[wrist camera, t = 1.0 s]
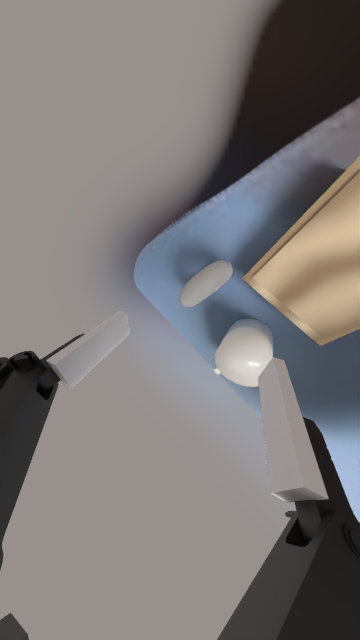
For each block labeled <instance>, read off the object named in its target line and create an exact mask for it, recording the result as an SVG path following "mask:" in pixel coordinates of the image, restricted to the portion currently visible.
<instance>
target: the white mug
mask: <svg viewBox="0 0 360 640" xmlns="http://www.w3.org/2000/svg"><path fill="white" fill-rule="evenodd" d="M272 358H273V335H272V332H271V330H270V329H269V327H268V326H267V325H265V324H264V323H262V322H261V321H258V320H255V319H241V320H238V321H236V322H235V323H233V324H232V326H231V327H230V329H229V330H228V332H227V334H226V335H225V337H224V339H223V341H222V342H221V344H220V346H219V347H218V349H217V351H216V353H215V363H216V366H215V368H214V371H215V373H216V374H217V375H219V374H221V373H222V374H223V375H224V376H225V377H226V378H227V379H229V380H230V381H232V382H234V383H236V384H238V385H241V386H246V387H258V386H259V384H258V377H259V376H260V374H261V373H262V371H263V370H264V369H265V367H266V366H267V364H268V363H269V362H270V360H271V359H272Z"/></svg>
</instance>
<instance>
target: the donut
mask: <svg viewBox="0 0 360 640" xmlns="http://www.w3.org/2000/svg"><path fill="white" fill-rule="evenodd" d="M232 275H233V267H232V265H231V264H230V263H229V262H228V261H225V260H219V261H216V262H213V263H211V264H209V265H208V266H206V267H205V268H203V269H202V270H201V271H199V272H198V273H197V274H196V275H194V276H193V277H192V278H191V279H190V280H189V281H188V282H187V283H186V284H185V285H184V287H183V288H182V290H181V292H180V296H179V299H180V302H181V304H182V305H183V306H185V307H193V306H195V305H197V304H198V303H200V302H201V301H203V300H204V299H206V298H207V297H208V296H210V295H211V294H213V293H214V292H215V291H216V290H218V289H219V288H220V287H221V286H223V285H224V284H225V283H226V282H227V281H228V280H229V279H230V278H231V276H232Z"/></svg>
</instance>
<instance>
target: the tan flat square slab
mask: <svg viewBox="0 0 360 640" xmlns="http://www.w3.org/2000/svg"><path fill="white" fill-rule="evenodd" d="M242 279H243V280H244V281H245V282H247V283H248V284H249V285H250V286H251V287H252V288H254V289H255V290H256V291H257V292H258V293H259V294H261V295H262V296H263V297H264V298H265V299H266V300H267V301H269V302H270V303H271V304H272V305H273V306H274V307H276V308H277V309H278V310H279V311H280V312H281V313H283V314H284V315H285V316H286V317H287V318H288V319H289V320H291V321H292V322H293V323H294V324H295V325H296V326H298V327H299V328H300V329H301V330H302V331H303V332H304V333H306V334H307V335H308V336H309V337H310V338H311V339H313V340H314V341H315V342H316V343H317V344H318V345H320V346H322V345H324V344H326V343H329V342H331V341H333V340H336V339H338V338H340V337H342V336H345V335H347V334H349V333H352V332H354V331H356V330H359V329H360V156H359V157H358V158H357V159H356V160H355V162H354V163H353V164H352V165H351V166H350V167H349V168H348V169H347V170H346V171H345V172H344V173H343V174H342V175H341V176H340V177H339V178H338V179H337V180H336V181H335V182H334V183H333V184H332V185H331V186H330V187H329V189H328V190H327V191H326V192H325V193H324V194H323V195H322V196H321V197H320V198H319V199H318V200H317V201H316V202H315V203H314V204H313V205H312V206H311V207H310V208H309V209H308V210H307V211H306V212H305V213H304V214H303V216H302V217H301V218H300V219H299V220H298V221H297V222H296V223H295V224H294V225H293V226H292V227H291V228H290V229H289V230H288V231H287V232H286V233H285V234H284V235H283V236H282V237H281V238H280V239H279V240H278V241H277V243H276V244H275V245H274V246H273V247H272V248H271V249H270V250H269V251H268V252H267V253H266V254H265V255H264V256H263V257H262V258H261V259H260V260H259V261H258V262H257V263H256V264H255V265H254V266H253V267H252V268H251V270H250V271H249V272H248V273H247V274H246V275H245V276H244V277H243V278H242Z"/></svg>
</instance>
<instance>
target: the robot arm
mask: <svg viewBox="0 0 360 640" xmlns="http://www.w3.org/2000/svg"><path fill="white" fill-rule="evenodd" d="M129 334H130V330H129V324H128V318H127V313H126V312H123V311H119V312H117V313H116V314H114V315H113V316H111V317H110V318H108V319H107V320H105V321H104V322H102V323H101V324H99V325H98V326H97V327H95V328H93V329H92V330H90V331H89V332H87V333H86V334H81V335H79V336H77V337H75V338H73V339H72V340H70V342H67V343H66V344H65V345H62V346H61V347H59V348H58V349H56V350H55V351H53V352H52V353H50V354H49V355H47V356H46V357H44V358H42V359H39V358H38V357H37V356H36V354H35V353H34V352H32V351H24V352H21V353H18V354H16V355H14V356H12V357H11V358H9V359H8V358H5V357H3V358H0V569H1V565H2V561H3V551H2V541H3V537H4V534H5V531H6V529H7V526H8V523H9V520H10V518H11V515H12V512H13V509H14V507H15V504H16V501H17V498H18V496H19V493H20V490H21V487H22V485H23V482H24V479H25V476H26V473H27V471H28V468H29V465H30V463H31V460H32V457H33V454H34V451H35V448H36V446H37V443H38V440H39V438H40V435H41V432H42V429H43V427H44V424H45V421H46V418H47V415H48V413H49V410H50V407H51V405H52V401H53V399H54V396H55V393H56V391H57V388H58V382H59V381H60V380H61V381H62V382H63V383H64V385H66V386H68V387H70V388H73V387H74V386H75V385H76V384H77V383H78V382H79V381H80V380H81V379H82V378H83V377H84V376H86V374H88V373H89V372H90V371H91V370H92V369H93V368H94V367H95V366H96V365H97V364H98V363H99V362H100V361H101V360H103V359H104V358H105V357H106V356H107V355H108V354H109V353H110V352H111V351H112V350H113V349H114V348H115V347H116V346H118V345H119V344H120V343H121V342H122V341H123V340H124V339H125V338H126V337H127V336H128V335H129ZM258 384H259V394H260V403H261V413H262V422H263V432H264V441H265V451H266V460H267V469H268V478H269V489H270V493H271V494H273V495H275V496H276V497H278V498H280V499H282V500H284V501H286V502H295V505H296V510H297V511H288V512H286V513H285V515H286V516H287V517H291V519H290V521H289V522H288V524H287V526H286V528H285V529H284V530H283V532H282V534H281V536H280V537H279V539H278V540H277V542H276V544H275V545H274V547H273V549H272V550H271V552H270V554H269V555H268V557H267V558H266V560H265V562H264V563H263V565H262V567H261V569H260V570H259V572H258V573H257V575H256V577H255V578H254V580H253V581H252V583H251V585H250V586H249V588H248V590H247V591H246V593H245V595H244V596H243V598H242V600H241V601H240V603H239V605H238V606H237V608H236V609H235V611H234V613H233V614H232V616H231V618H230V619H229V621H228V623H227V624H226V626H225V628H224V629H223V631H222V633H221V634H220V636H219V637H218V639H217V640H360V523H359V522H358V520H357V519H356V517H355V515H354V514H353V511H352V509H351V507H350V505H349V502H348V500H347V497H346V495H345V492H344V489H343V487H342V484H341V482H340V479H339V477H338V474H337V471H336V469H335V466H334V464H333V461H332V460H331V456H330V453H329V451H328V449H327V448H326V447H327V446H326V443H325V441H324V438H323V435H322V433H321V432H320V430H319V429H318V427H317V426H316V424H315V423H314V421H312V420H309V419H307V418H304V417H302V414H301V411H300V408H299V405H298V402H297V398H296V395H295V392H294V389H293V386H292V383H291V380H290V377H289V373H288V370H287V367H286V364H285V361H284V360H281V359H278V358H275V357H273V358H272V359H271V360H270V362H269V363H268V364H267V366H266V367H265V369H264V370H263V371H262V373H261V374H260V376H259V377H258ZM0 640H29V638H28V634H27V633H26V632H25V631H24V629H23V628H22V627H21V625H20V624H19V623H18V622H17V620H16V619H15V618H14V617H13V615H12V614H11V613H10V614H8V615H7V616H5V617H4V618H2V619H1V620H0Z"/></svg>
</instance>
